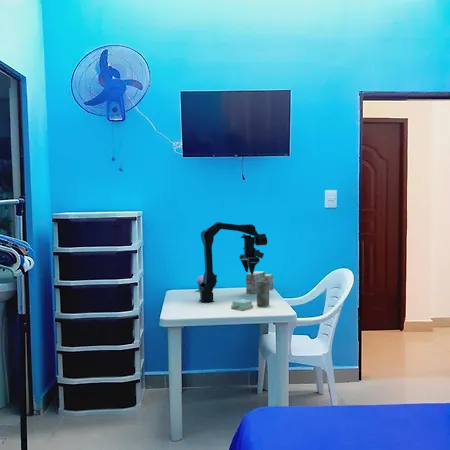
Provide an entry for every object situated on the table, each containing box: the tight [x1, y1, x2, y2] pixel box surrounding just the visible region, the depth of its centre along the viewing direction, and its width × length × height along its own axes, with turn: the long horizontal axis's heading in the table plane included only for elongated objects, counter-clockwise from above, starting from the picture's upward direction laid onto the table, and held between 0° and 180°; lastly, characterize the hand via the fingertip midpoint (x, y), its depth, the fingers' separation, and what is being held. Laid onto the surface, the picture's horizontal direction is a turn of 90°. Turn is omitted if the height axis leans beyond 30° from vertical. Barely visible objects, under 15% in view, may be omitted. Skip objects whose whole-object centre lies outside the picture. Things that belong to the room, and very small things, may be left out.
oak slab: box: [230, 304, 254, 312], centre depth 238 cm, size 8×8×2 cm
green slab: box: [232, 298, 253, 307], centre depth 238 cm, size 7×7×2 cm
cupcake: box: [196, 274, 204, 292], centre depth 288 cm, size 9×9×10 cm
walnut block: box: [256, 280, 270, 308], centre depth 243 cm, size 5×5×13 cm
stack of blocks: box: [245, 270, 274, 295], centre depth 283 cm, size 21×6×12 cm, turn 143°
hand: (249, 273), depth 265 cm, fingers open, 9 cm apart
